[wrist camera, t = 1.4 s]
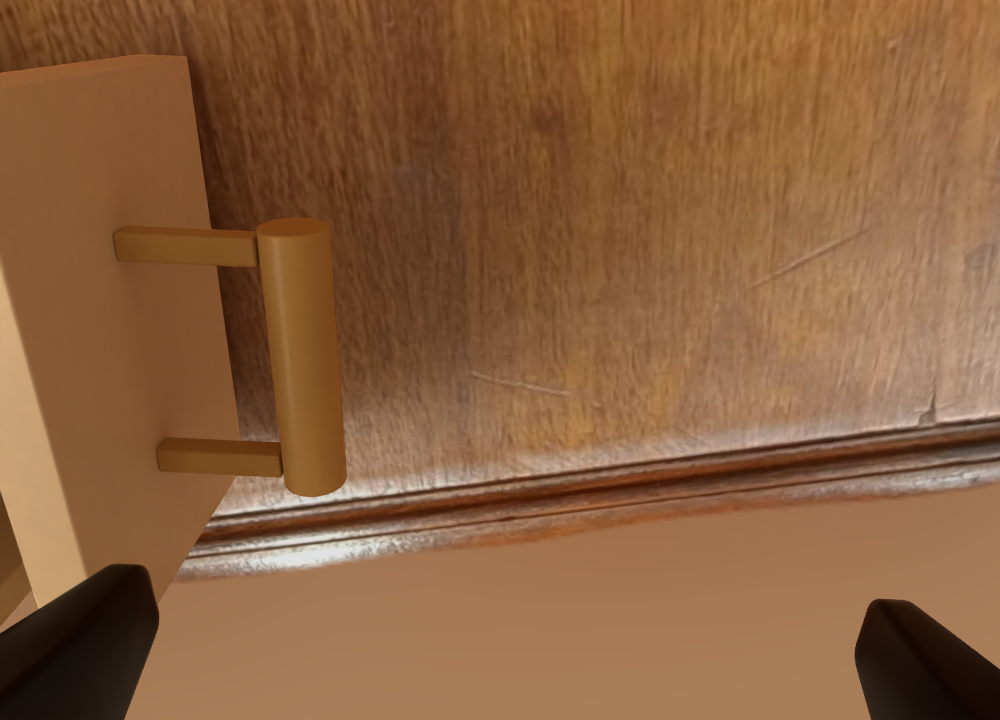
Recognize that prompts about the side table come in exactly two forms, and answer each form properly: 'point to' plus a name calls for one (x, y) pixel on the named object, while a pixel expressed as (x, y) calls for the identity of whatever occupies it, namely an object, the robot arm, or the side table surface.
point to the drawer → (137, 331)
